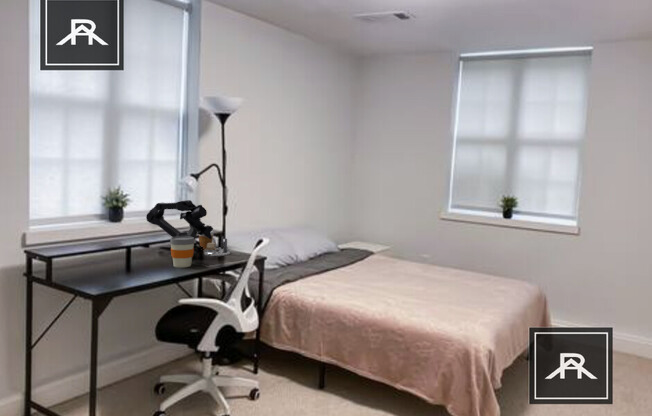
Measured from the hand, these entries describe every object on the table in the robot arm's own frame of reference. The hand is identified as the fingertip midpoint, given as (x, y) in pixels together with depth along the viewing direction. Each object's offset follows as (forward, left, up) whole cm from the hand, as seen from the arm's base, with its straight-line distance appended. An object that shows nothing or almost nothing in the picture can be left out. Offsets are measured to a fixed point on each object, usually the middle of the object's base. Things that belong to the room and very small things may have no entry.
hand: (211, 238), depth 302 cm
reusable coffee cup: (-22, -6, -12) cm, 26 cm away
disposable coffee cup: (+12, +23, -12) cm, 28 cm away
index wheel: (+8, +5, -10) cm, 14 cm away
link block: (+5, +8, -8) cm, 13 cm away
